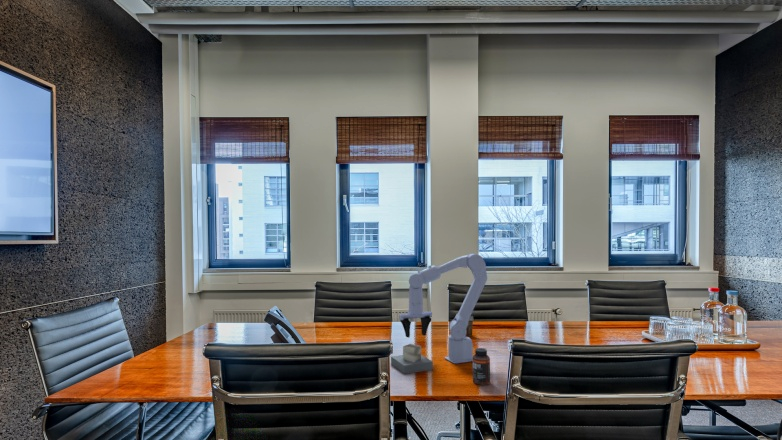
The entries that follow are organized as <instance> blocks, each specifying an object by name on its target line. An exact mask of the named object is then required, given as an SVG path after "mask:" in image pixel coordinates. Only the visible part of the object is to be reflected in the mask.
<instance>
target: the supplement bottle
mask: <svg viewBox="0 0 782 440" xmlns="http://www.w3.org/2000/svg"><path fill="white" fill-rule="evenodd" d="M474 352H475V354H473V361H472V382H473V383H474V384H476V385H479V386H485V385H489V384H490V383H491V359H490V358H491V357H490V356H489V355H488V349H487V348H483V347H477V348H475V351H474Z"/></svg>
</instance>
